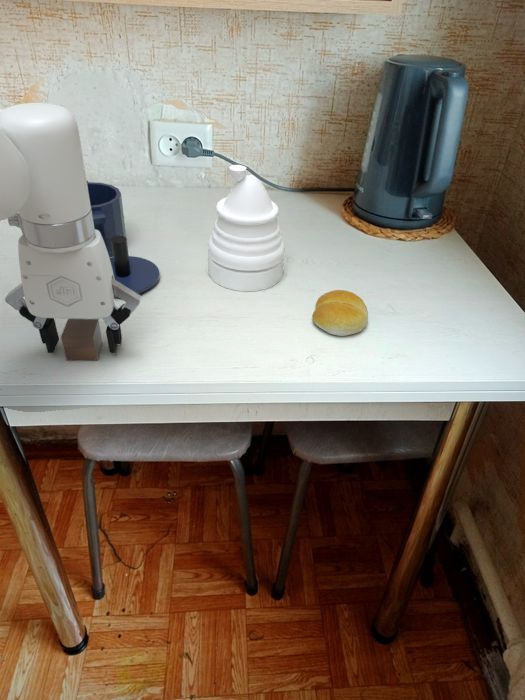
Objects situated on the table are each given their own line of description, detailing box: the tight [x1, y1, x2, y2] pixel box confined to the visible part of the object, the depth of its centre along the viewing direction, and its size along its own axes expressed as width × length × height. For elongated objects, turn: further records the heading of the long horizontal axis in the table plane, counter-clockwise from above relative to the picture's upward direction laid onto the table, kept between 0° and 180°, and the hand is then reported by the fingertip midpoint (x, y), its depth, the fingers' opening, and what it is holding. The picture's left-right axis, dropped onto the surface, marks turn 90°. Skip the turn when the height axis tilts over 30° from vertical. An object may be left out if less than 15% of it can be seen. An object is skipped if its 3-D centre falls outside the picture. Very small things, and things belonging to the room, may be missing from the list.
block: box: [60, 318, 103, 362], centre depth 68 cm, size 4×4×4 cm
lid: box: [109, 236, 160, 294], centre depth 81 cm, size 12×12×7 cm
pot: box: [86, 179, 127, 258], centre depth 89 cm, size 11×16×10 cm, turn 25°
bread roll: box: [311, 289, 369, 337], centre depth 77 cm, size 8×9×4 cm
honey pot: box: [207, 164, 285, 292], centre depth 82 cm, size 13×13×18 cm
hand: (84, 346), depth 69 cm, fingers open, 7 cm apart
